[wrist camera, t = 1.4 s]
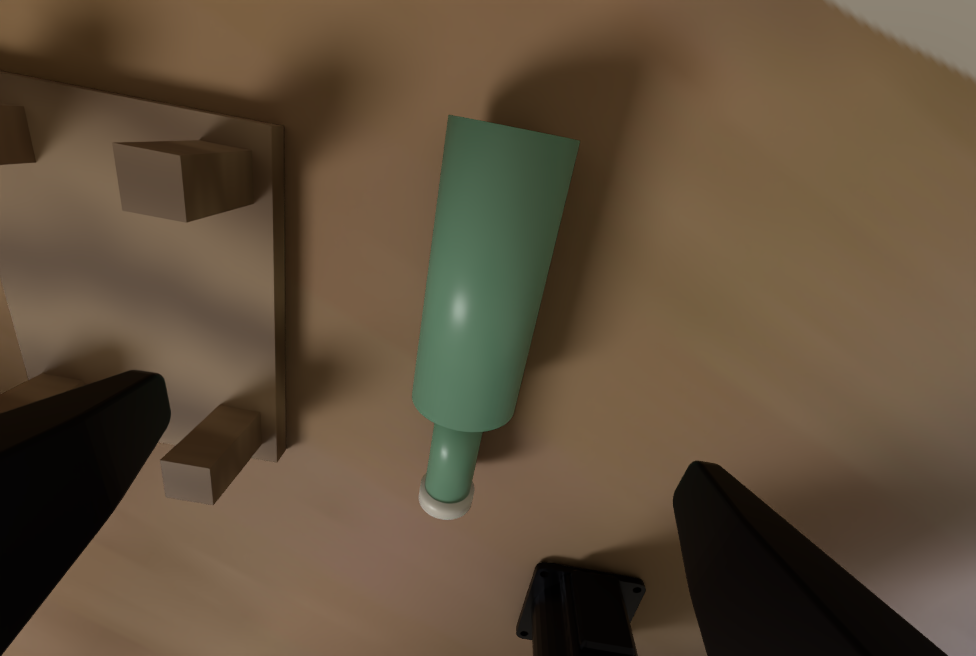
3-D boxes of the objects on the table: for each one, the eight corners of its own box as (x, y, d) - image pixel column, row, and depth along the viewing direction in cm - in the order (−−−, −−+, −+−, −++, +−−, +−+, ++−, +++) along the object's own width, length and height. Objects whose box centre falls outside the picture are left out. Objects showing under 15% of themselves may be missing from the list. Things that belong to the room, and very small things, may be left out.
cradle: (285, 450, 24) (232, 525, 19) (58, 410, 24) (-52, 477, 19) (283, 126, 17) (202, 123, 13) (-30, 65, 17) (-227, 40, 13)
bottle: (435, 112, 16) (470, 118, 12) (545, 134, 18) (606, 145, 14) (392, 470, 23) (407, 544, 19) (475, 462, 25) (503, 529, 21)
